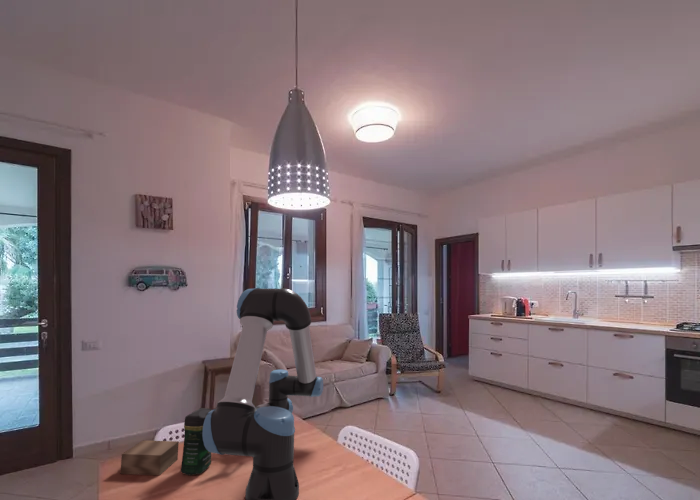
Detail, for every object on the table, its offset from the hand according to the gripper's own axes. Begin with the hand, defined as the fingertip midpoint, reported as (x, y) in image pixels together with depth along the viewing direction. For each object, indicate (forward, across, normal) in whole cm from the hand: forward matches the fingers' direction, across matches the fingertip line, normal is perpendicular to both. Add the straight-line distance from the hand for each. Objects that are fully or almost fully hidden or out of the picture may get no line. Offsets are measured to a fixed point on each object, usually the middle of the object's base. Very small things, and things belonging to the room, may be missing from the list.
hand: (207, 432), depth 126 cm
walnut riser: (+12, +13, -10) cm, 21 cm away
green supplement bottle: (+4, -1, -11) cm, 11 cm away
